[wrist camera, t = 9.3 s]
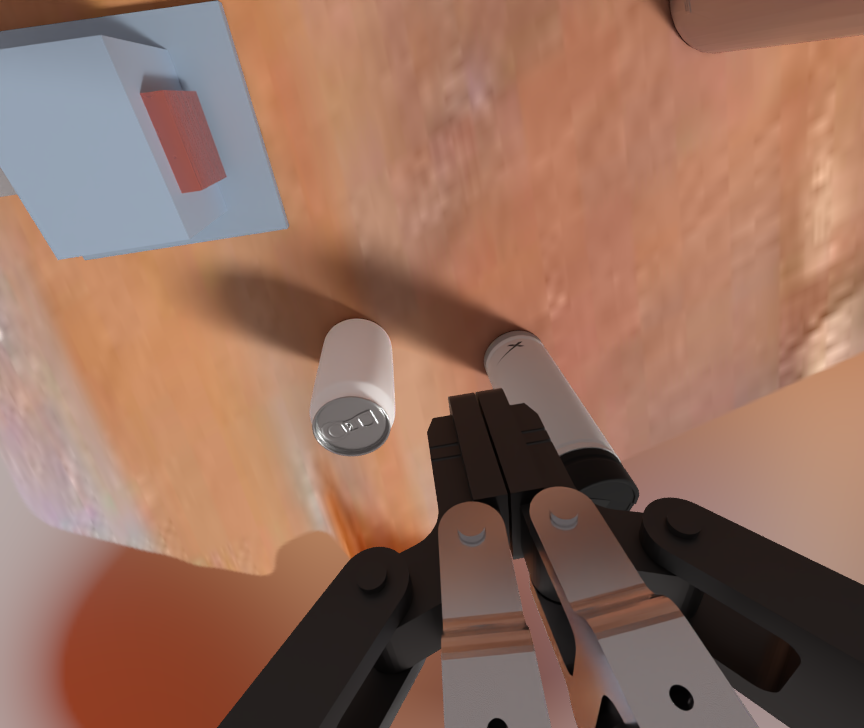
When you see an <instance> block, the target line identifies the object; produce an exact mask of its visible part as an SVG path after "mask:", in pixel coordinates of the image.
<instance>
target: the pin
mask: <svg viewBox="0 0 864 728" xmlns="http://www.w3.org/2000/svg"><path fill="white" fill-rule="evenodd" d="M140 95H141V98H142V100H143V102H144V105H145V107H146V109H147V112H148V114H149V117H150V119H151V121H152V124H153V126H154V128H155V131H156V133H157V136H158V138H159V140H160V143H161V145H162V147H163V150H164V152H165V155H166V157H167V159H168V162H169V164H170V166H171V169H172V171H173V174H174V176H175V178H176V181H177V183H178V185H179V188H180V190H181V193H188V192H195V191H201V190H203V189H205V188H207V187H209V186H211V185H213V184H215V183H216V182H218V181H220V180H222V179H224V178H226V177H227V176H226V173H225V170H224V168H223V165H222V162H221V159H220V157H219V154H218V151H217V148H216V145H215V143H214V140H213V137H212V134H211V131H210V129H209V126H208V123H207V120H206V118H205V115H204V112H203V109H202V106H201V104H200V101H199V98H198V95H197V93H196V91H174V90H159V91H152V92H146V93H140ZM15 194H17V193H16V191H15V190H14V188H13V187H12V185H11V183H10V182H9V180H8V178H7V177H6V175H5V174H4V172H3V170H2V169H1V167H0V197H2V196H9V195H15Z"/></svg>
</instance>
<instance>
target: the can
mask: <svg viewBox="0 0 864 728" xmlns="http://www.w3.org/2000/svg"><path fill="white" fill-rule="evenodd" d="M310 419H311V423H312V429H313V434H314V436H315V438H316V440H317V441H318V442H319V444H320V445H322V446H323V447H324V448H325V449H327V450H329V451H330V452H333V453H335V454H338V455H343V456H360V455H365V454H368V453H371V452H373V451H375V450H376V449H378V448H379V447H381V446H382V445H383V444H384V442H385V441H386V440H387V438H388V436H389V433H390V429H391V427H392V425H393V422H394V419H395V392H394V374H393V357H392V346H391V341H390V338H389V336H388V335H387V333H386V332H385V330H384V329H383V328H381V327H380V326H379V325H377V324H376V323H374V322H372V321H369V320H365V319H348V320H345V321H342V322H340V323H338V324H336V325H335V326H334V327H333V328H331V330H330V331H329V332H328V334H327V335H326V338H325V340H324V344H323V348H322V353H321V357H320V361H319V366H318V370H317V375H316V380H315V384H314V389H313V394H312V399H311V404H310Z"/></svg>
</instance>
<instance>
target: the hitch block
mask: <svg viewBox="0 0 864 728" xmlns="http://www.w3.org/2000/svg"><path fill="white" fill-rule="evenodd" d="M159 90H174V91H196V93H197V95H198V98H199V101H200V104H201V106H202V109H203V112H204V115H205V118H206V120H207V123H208V126H209V129H210V131H211V134H212V137H213V140H214V143H215V145H216V148H217V151H218V154H219V157H220V159H221V162H222V165H223V168H224V170H225V173H226V176H227V177H226V178H224V179H222V180H220V181H218V182H216V183H215V184H213V185H211V186H209V187H207V188H205V189H203V190H201V191H195V192H188V193H181V190H180V188H179V185H178V183H177V181H176V178H175V176H174V174H173V171H172V169H171V166H170V164H169V162H168V159H167V157H166V155H165V152H164V150H163V147H162V145H161V143H160V140H159V138H158V136H157V133H156V131H155V128H154V126H153V124H152V121H151V119H150V117H149V114H148V112H147V109H146V107H145V105H144V102H143V100H142V98H141V95H140V93H146V92H152V91H159ZM0 167H1V169H2V170H3V172H4V174H5V175H6V177H7V178H8V180H9V182H10V183H11V185H12V187H13V188H14V190H15V191H16V193H17V195H18V196H19V198H20V199H21V201H22V203H23V204H24V206H25V207H26V209H27V211H28V212H29V214H30V216H31V217H32V219H33V220H34V222H35V224H36V225H37V227H38V228H39V230H40V232H41V233H42V235H43V236H44V238H45V240H46V241H47V243H48V245H49V246H50V248H51V249H52V251H53V253H54V254H55V256H56V257H57V259H58V260H60V259H66V258H73V257H79V256H83V258H84V260H90V259H96V258H103V257H109V256H115V255H122V254H128V253H135V252H141V251H147V250H154V249H160V248H167V247H173V246H180V245H186V244H192V243H199V242H205V241H212V240H218V239H224V238H231V237H237V236H244V235H250V234H257V233H263V232H269V231H276V230H282V229H288V227H289V224H288V220H287V217H286V214H285V210H284V207H283V204H282V201H281V197H280V194H279V191H278V187H277V184H276V181H275V177H274V174H273V171H272V168H271V164H270V161H269V158H268V154H267V151H266V148H265V144H264V141H263V138H262V135H261V131H260V128H259V125H258V121H257V118H256V115H255V111H254V108H253V105H252V102H251V98H250V95H249V92H248V88H247V85H246V82H245V78H244V75H243V72H242V69H241V65H240V62H239V59H238V55H237V52H236V49H235V46H234V42H233V39H232V36H231V32H230V29H229V26H228V22H227V19H226V16H225V13H224V9H223V6H222V3H221V2H219V1H218V0H217V1H210V2H203V3H196V4H189V5H182V6H175V7H168V8H161V9H154V10H147V11H140V12H133V13H126V14H119V15H112V16H105V17H98V18H91V19H84V20H77V21H70V22H63V23H56V24H49V25H42V26H35V27H28V28H21V29H14V30H7V31H0Z"/></svg>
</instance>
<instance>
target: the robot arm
mask: <svg viewBox="0 0 864 728" xmlns="http://www.w3.org/2000/svg"><path fill="white" fill-rule="evenodd" d="M670 9H671V15H672V18H673V21H674V24H675V27H676V29H677V31H678V32H679V34H680V36H681V37H682V39H683V40H684V41H685V42H686V43H688V44H689V45H690V46H691V47H692V48H695V49H697V50H699V51H701V52H707V53H721V52H729V51H737V50H745V49H754V48H764V47H772V46H780V45H788V44H796V43H803V42H811V41H819V40H827V39H835V38H843V37H851V36H858V35H864V0H670ZM448 400H449V408H450V415H449V416H443V417H437V418H433V419H432V422H431V424H430V426H429V429H428V431H427V435H428V442H429V448H430V455H431V462H432V469H433V475H434V482H435V489H436V496H437V502H438V511H439V514H438V519H437V523H436V525H435V527H434V529H433V530H432V532H431V533H430V534H429V535H428V536H427V537H426V538H425V539H424V540H423V541H421V542H420V543H418V544H417V545H415V546H413V547H411V548H409V549H407V550H405V551H403V552H401V553H398V552H396V551H395V550H392V549H390V548H386V547H373V548H369V549H366V550H364V551H362V552H360V553H358V554H357V555H355V556H354V557H353V558H351V559H350V560H349V562H348V563H347V564H346V565H345V566H344V568H343V569H342V570H341V571H340V573H339V574H338V575H337V576H336V578H335V579H334V580H333V582H332V583H331V584H330V585H329V587H328V588H327V589H326V591H325V592H324V593H323V594H322V596H321V597H320V598H319V599H318V601H317V602H316V603H315V604H314V606H313V607H312V608H311V610H310V611H309V612H308V613H307V615H306V616H305V617H304V618H303V620H302V621H301V622H300V623H299V625H298V626H297V627H296V628H295V630H294V631H293V632H292V633H291V635H290V636H289V637H288V639H287V640H286V641H285V642H284V644H283V645H282V646H281V647H280V649H279V650H278V651H277V652H276V654H275V655H274V656H273V658H272V659H271V660H270V661H269V663H268V664H267V665H266V666H265V668H264V669H263V670H262V672H261V673H260V674H259V675H258V677H257V678H256V679H255V680H254V682H253V683H252V684H251V685H250V687H249V688H248V689H247V691H246V692H245V693H244V694H243V696H242V697H241V698H240V699H239V701H238V702H237V703H236V704H235V706H234V707H233V708H232V710H231V711H230V712H229V713H228V715H227V716H226V717H225V718H224V720H223V721H222V722H221V723H220V725H219V726H218V727H217V728H389V727H390V726H391V724H392V722H393V720H394V718H395V716H396V714H397V713H398V711H399V709H400V707H401V705H402V703H403V701H404V700H405V698H406V696H407V694H408V692H409V690H410V688H411V686H412V685H413V683H414V681H415V679H416V677H417V675H418V673H419V672H420V670H421V668H422V666H423V664H424V662H425V659H426V658H427V657H428V656H430V655H431V654H433V653H435V652H436V651H438V650H440V649H441V659H442V681H443V701H444V724H445V728H551V724H550V719H549V715H548V710H547V705H546V701H545V696H544V692H543V687H542V682H541V677H540V673H539V668H538V663H537V659H536V655H535V650H534V645H533V641H532V637H531V633H530V630H529V627H528V626H527V625H526V623H525V619H524V615H523V611H522V606H521V600H520V596H519V591H518V586H517V581H516V576H515V572H514V567H513V562H512V557H513V559H519V558H525V561H526V565H527V568H528V571H529V580H530V581H529V584H530V590H531V593H532V596H533V599H534V601H535V603H536V606H537V609H538V611H539V614H540V617H541V619H542V622H543V624H544V626H545V629H546V632H547V635H548V637H549V640H550V642H551V645H552V647H553V650H554V652H555V655H556V658H557V660H558V663H559V665H560V668H561V670H562V673H563V676H564V679H565V681H566V685H567V688H568V692H569V697H570V702H571V706H572V710H573V714H574V718H575V721H576V724H577V727H578V728H759V727H758V725H757V724H756V722H755V721H754V719H753V718H752V716H751V715H750V713H749V712H748V710H747V709H746V707H745V706H744V704H743V703H742V701H741V700H740V698H739V697H738V695H737V694H736V692H735V691H734V689H736V690H737V691H738V692H740V693H742V694H743V695H744V696H746V697H747V698H748V699H750V700H751V701H753V702H754V703H755V704H757V705H759V706H760V707H761V708H763V709H764V710H766V711H767V712H768V713H770V714H771V715H773V716H774V717H775V718H777V719H778V720H780V721H781V722H782V723H784V724H786V725H787V726H788V727H790V728H864V585H862V584H860V583H858V582H856V581H854V580H852V579H850V578H848V577H845V576H843V575H841V574H839V573H837V572H835V571H833V570H831V569H829V568H827V567H825V566H823V565H821V564H819V563H817V562H814V561H812V560H810V559H808V558H806V557H804V556H802V555H800V554H798V553H796V552H794V551H792V550H790V549H788V548H786V547H784V546H782V545H779V544H777V543H775V542H773V541H771V540H769V539H767V538H765V537H763V536H761V535H759V534H757V533H755V532H753V531H751V530H748V529H746V528H744V527H742V526H740V525H738V524H736V523H734V522H732V521H730V520H728V519H726V518H723V517H721V516H720V515H717V514H715V513H713V512H711V511H709V510H707V509H705V508H703V507H701V506H699V505H697V504H695V503H692V502H690V501H687V500H683V499H679V498H662V499H657V500H655V501H653V502H651V503H650V504H649V505H648V506H647V507H646V508H645V510H644V513H640V512H631V511H622V510H614V509H608V508H605V507H602V506H599V505H597V504H595V503H593V502H592V500H590V499H589V498H588V497H587V496H586V495H584V494H583V493H581V492H579V491H578V490H577V489H576V487H575V486H574V484H573V482H572V480H571V478H570V476H569V474H568V472H567V470H566V468H565V466H564V464H563V462H562V460H561V458H560V456H559V454H558V452H557V450H556V449H555V447H554V445H553V443H552V442H551V439H550V437H549V435H548V433H547V431H546V430H545V427H544V425H543V423H542V421H541V419H540V417H539V415H538V413H537V412H535V411H534V410H533V409H531V408H530V407H529V406H528V405H526V404H525V403H520V404H514V405H510V404H509V402H508V400H507V397H506V395H505V393H504V390H503V389H502V388H498V389H492V390H486V391H480V392H476V393H468V394H462V395H456V396H450V397H448ZM510 550H511V552H510ZM511 554H512V557H511ZM732 687H733V688H734V689H733V688H732ZM673 703H674V704H673Z"/></svg>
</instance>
